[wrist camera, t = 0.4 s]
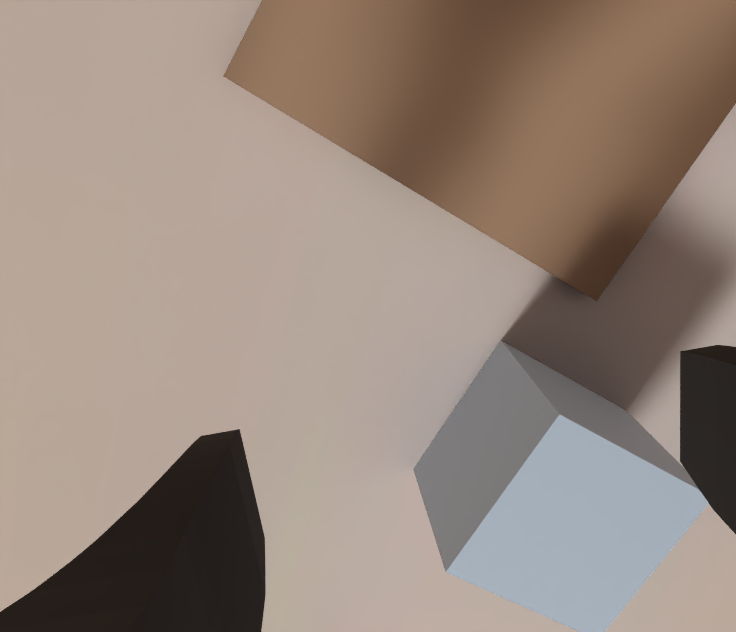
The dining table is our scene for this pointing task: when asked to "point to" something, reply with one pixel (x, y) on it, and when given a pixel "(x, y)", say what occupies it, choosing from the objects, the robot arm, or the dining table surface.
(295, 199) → the dining table surface
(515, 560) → the blue cube
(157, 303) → the dining table surface
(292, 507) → the dining table surface
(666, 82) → the walnut board
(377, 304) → the dining table surface
